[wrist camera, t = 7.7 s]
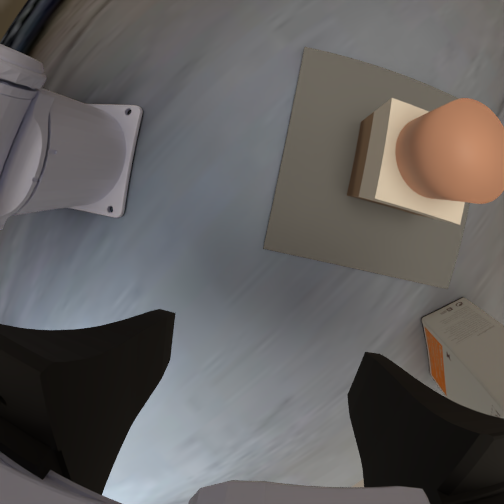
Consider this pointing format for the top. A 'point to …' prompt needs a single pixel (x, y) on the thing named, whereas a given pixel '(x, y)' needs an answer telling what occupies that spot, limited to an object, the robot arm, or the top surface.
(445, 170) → the cylinder
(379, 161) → the tower mid
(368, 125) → the tower base
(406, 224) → the mat
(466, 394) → the skincare box
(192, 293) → the top surface
